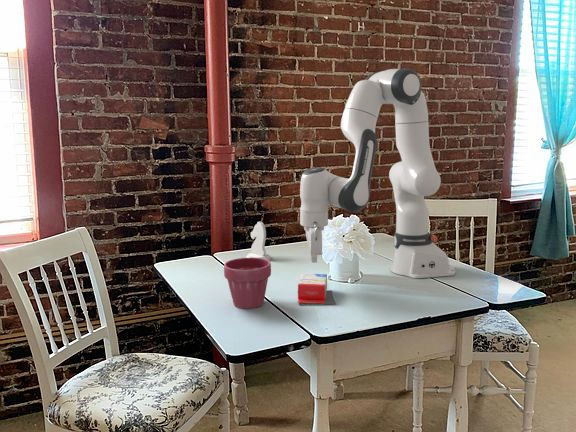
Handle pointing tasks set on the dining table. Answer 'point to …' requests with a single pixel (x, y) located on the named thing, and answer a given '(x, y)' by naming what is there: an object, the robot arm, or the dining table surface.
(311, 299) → the ink box
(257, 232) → the chess piece
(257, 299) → the plant pot
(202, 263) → the dining table surface
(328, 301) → the mat
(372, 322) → the dining table surface
